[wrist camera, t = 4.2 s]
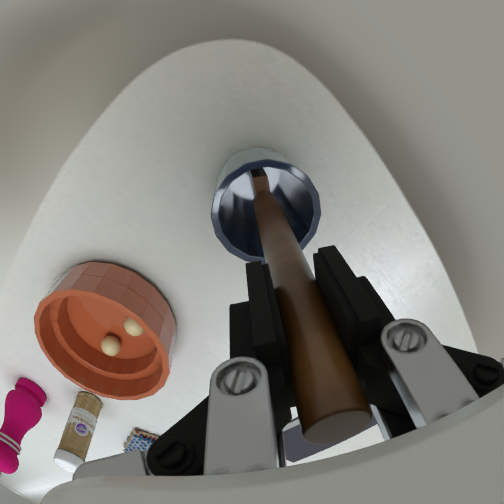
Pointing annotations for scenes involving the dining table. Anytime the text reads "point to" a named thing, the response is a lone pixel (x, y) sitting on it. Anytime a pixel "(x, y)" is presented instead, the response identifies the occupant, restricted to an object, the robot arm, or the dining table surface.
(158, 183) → the dining table surface
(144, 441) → the woven mat
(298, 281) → the brown long handled piece
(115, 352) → the dough ball
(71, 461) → the sprinkles bottle
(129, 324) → the dough ball
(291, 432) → the notebook
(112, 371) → the bowl
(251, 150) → the crock
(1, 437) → the pepper mill
